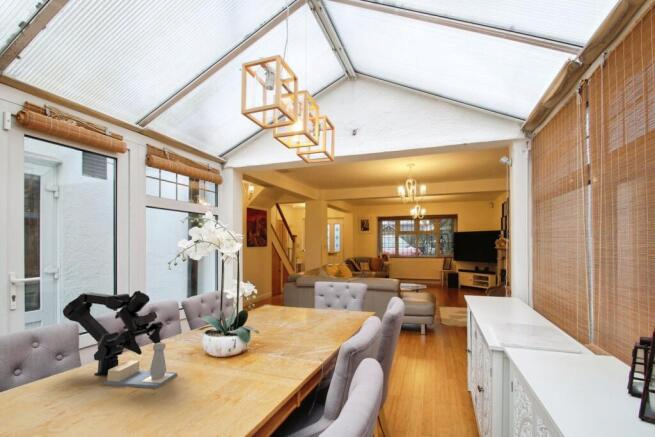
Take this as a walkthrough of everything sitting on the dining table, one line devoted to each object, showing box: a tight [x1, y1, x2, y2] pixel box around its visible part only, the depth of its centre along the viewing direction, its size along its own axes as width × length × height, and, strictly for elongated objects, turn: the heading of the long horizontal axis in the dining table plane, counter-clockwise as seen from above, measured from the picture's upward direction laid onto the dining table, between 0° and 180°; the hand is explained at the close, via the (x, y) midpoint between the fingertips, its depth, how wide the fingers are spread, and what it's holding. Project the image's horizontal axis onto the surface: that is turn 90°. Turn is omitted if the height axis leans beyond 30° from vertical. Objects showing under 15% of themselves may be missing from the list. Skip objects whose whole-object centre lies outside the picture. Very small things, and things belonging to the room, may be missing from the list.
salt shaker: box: [149, 342, 167, 380], centre depth 121 cm, size 6×6×13 cm
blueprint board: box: [103, 359, 178, 389], centre depth 122 cm, size 22×12×5 cm, turn 82°
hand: (150, 350), depth 123 cm, fingers open, 9 cm apart
